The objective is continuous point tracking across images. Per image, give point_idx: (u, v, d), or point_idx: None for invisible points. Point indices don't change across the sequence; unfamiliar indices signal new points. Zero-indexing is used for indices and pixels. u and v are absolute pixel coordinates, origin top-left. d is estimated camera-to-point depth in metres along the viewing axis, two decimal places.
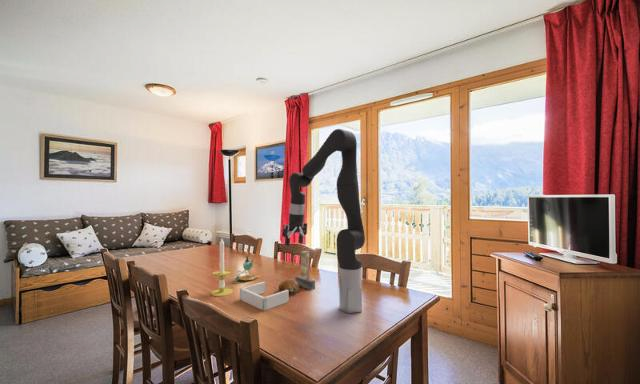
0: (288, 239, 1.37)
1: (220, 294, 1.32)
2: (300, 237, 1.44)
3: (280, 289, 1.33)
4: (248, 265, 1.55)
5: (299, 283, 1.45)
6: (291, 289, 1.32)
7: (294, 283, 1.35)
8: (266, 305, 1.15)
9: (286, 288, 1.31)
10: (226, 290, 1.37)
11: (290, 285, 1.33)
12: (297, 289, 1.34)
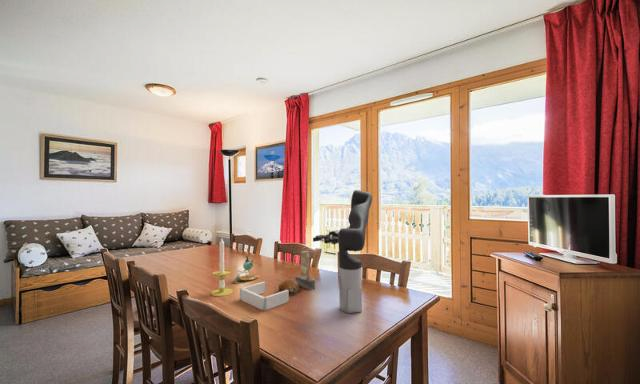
0: (316, 237, 1.58)
1: (220, 294, 1.32)
2: None
3: (280, 289, 1.32)
4: (248, 265, 1.55)
5: (299, 283, 1.45)
6: (291, 289, 1.31)
7: (294, 283, 1.35)
8: (266, 305, 1.15)
9: (286, 288, 1.31)
10: (226, 290, 1.37)
11: (290, 285, 1.32)
12: (297, 289, 1.34)
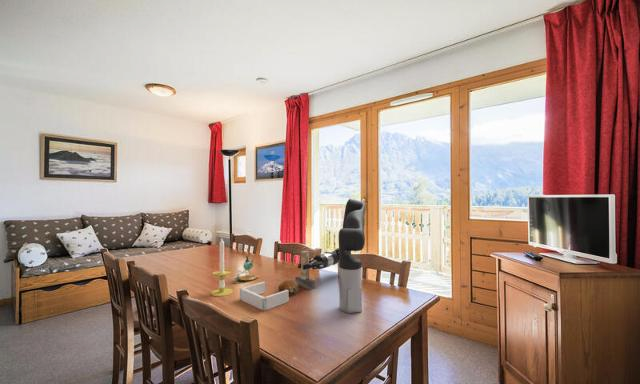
0: None
1: (220, 294, 1.32)
2: None
3: (280, 289, 1.32)
4: (248, 265, 1.55)
5: (299, 283, 1.45)
6: (291, 289, 1.31)
7: (294, 283, 1.34)
8: (266, 305, 1.15)
9: (286, 288, 1.31)
10: (226, 290, 1.37)
11: (290, 285, 1.32)
12: (297, 289, 1.34)
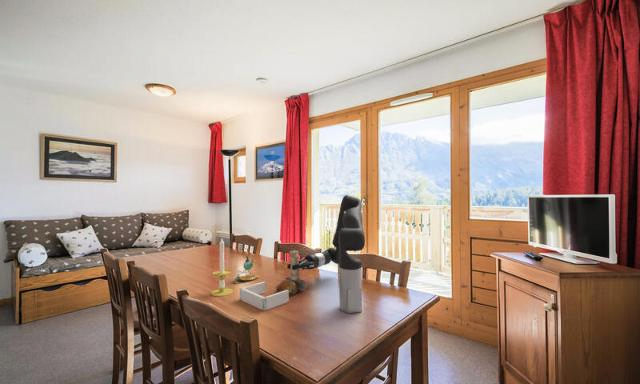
0: None
1: (220, 294, 1.32)
2: None
3: (278, 290, 1.31)
4: (248, 265, 1.55)
5: None
6: (289, 290, 1.30)
7: (292, 284, 1.33)
8: (266, 305, 1.15)
9: (284, 289, 1.30)
10: (226, 290, 1.37)
11: (288, 286, 1.31)
12: (295, 290, 1.33)
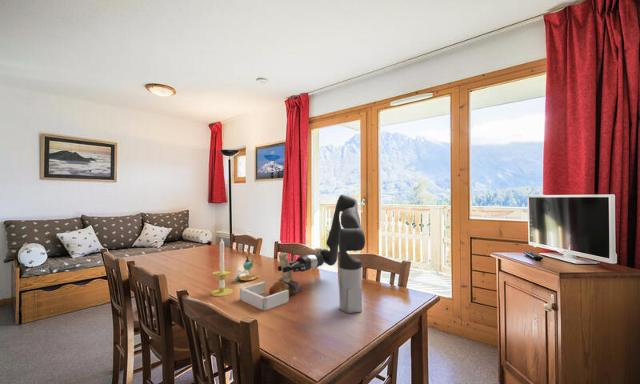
0: None
1: (220, 294, 1.32)
2: None
3: (271, 292, 1.28)
4: (248, 265, 1.55)
5: None
6: None
7: (285, 286, 1.30)
8: (266, 305, 1.15)
9: (277, 291, 1.27)
10: (226, 290, 1.37)
11: (281, 288, 1.28)
12: None
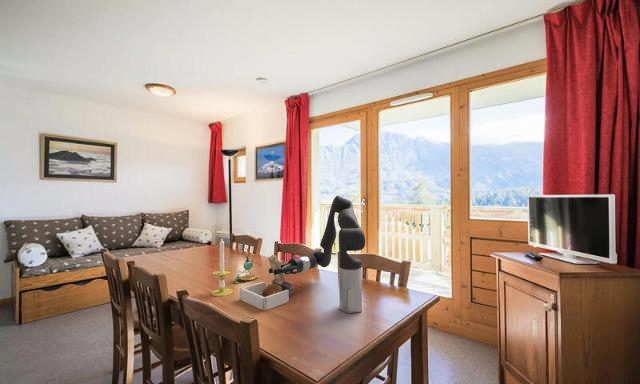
0: None
1: (220, 294, 1.32)
2: None
3: (263, 295, 1.25)
4: (248, 265, 1.55)
5: None
6: None
7: (279, 288, 1.27)
8: (266, 305, 1.15)
9: (270, 294, 1.24)
10: (226, 290, 1.37)
11: (274, 291, 1.25)
12: None
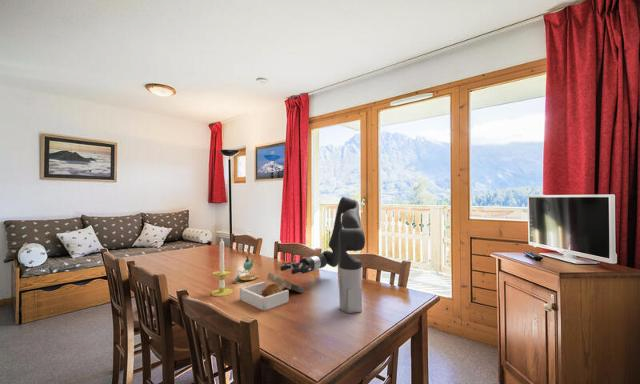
0: (285, 265, 1.40)
1: (220, 294, 1.32)
2: None
3: (263, 295, 1.25)
4: (248, 265, 1.55)
5: None
6: None
7: (278, 289, 1.27)
8: (266, 305, 1.15)
9: (269, 294, 1.24)
10: (226, 290, 1.37)
11: (274, 291, 1.25)
12: None
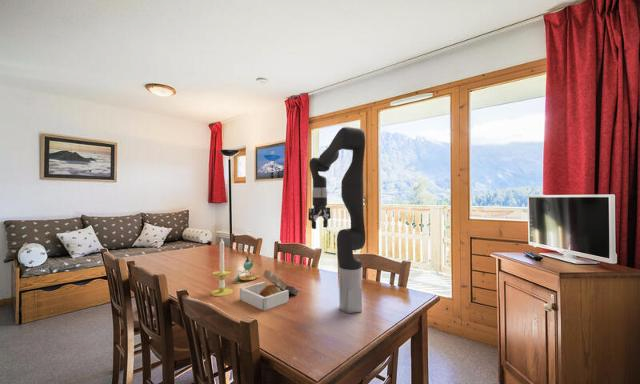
0: (314, 222, 1.40)
1: (220, 294, 1.32)
2: (325, 221, 1.47)
3: None
4: (248, 265, 1.55)
5: (281, 290, 1.36)
6: None
7: (276, 290, 1.26)
8: (266, 305, 1.15)
9: (266, 295, 1.22)
10: (226, 290, 1.37)
11: (271, 292, 1.23)
12: None
